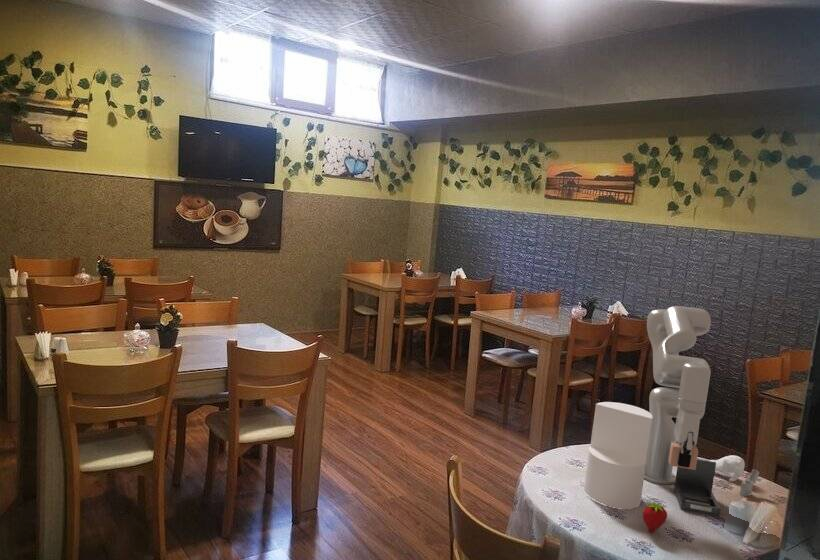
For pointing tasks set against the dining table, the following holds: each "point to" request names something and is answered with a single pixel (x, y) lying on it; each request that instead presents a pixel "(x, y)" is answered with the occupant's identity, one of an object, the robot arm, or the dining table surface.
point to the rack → (697, 488)
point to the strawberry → (654, 516)
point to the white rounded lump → (730, 466)
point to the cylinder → (618, 454)
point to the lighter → (749, 483)
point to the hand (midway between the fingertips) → (682, 462)
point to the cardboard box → (675, 455)
